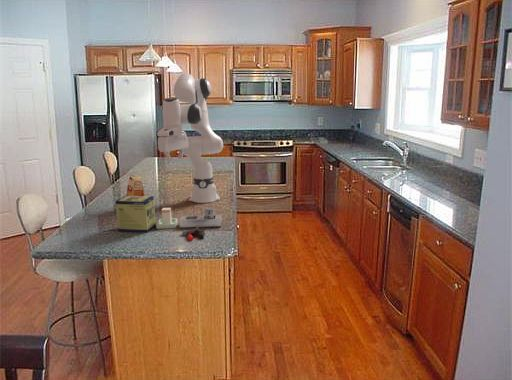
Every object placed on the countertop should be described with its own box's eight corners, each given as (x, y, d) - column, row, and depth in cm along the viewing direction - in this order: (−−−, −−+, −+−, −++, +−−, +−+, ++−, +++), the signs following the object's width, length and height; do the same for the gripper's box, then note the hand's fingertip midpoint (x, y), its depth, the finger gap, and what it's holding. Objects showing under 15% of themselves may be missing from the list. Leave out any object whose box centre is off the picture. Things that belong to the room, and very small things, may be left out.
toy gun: (182, 234, 206) (181, 224, 205) (206, 234, 205) (206, 225, 203) (175, 241, 197) (175, 231, 196) (201, 242, 195) (201, 231, 194)
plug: (163, 223, 221) (162, 207, 219) (172, 222, 221) (170, 207, 219) (162, 225, 217) (161, 210, 215) (170, 225, 217) (169, 209, 215)
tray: (160, 222, 224) (159, 218, 224) (177, 221, 224) (177, 218, 224) (156, 228, 214) (156, 224, 214) (175, 228, 215) (174, 224, 214)
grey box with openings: (181, 223, 222) (180, 207, 220) (221, 222, 222) (220, 205, 220) (178, 232, 208) (177, 214, 206) (220, 230, 209) (219, 213, 207)
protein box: (148, 232, 209) (145, 201, 205) (117, 231, 211) (114, 200, 208) (156, 226, 219) (154, 195, 215) (127, 225, 221) (124, 195, 218)
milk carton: (134, 210, 247) (131, 176, 243) (125, 208, 253) (122, 174, 249) (148, 207, 254) (145, 173, 249) (139, 204, 260) (136, 171, 255)
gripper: (180, 130, 226) (182, 156, 229) (154, 132, 208) (157, 161, 211) (190, 129, 223) (192, 156, 226) (165, 132, 205) (167, 162, 208)
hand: (175, 159), depth 218 cm, fingers open, 8 cm apart
